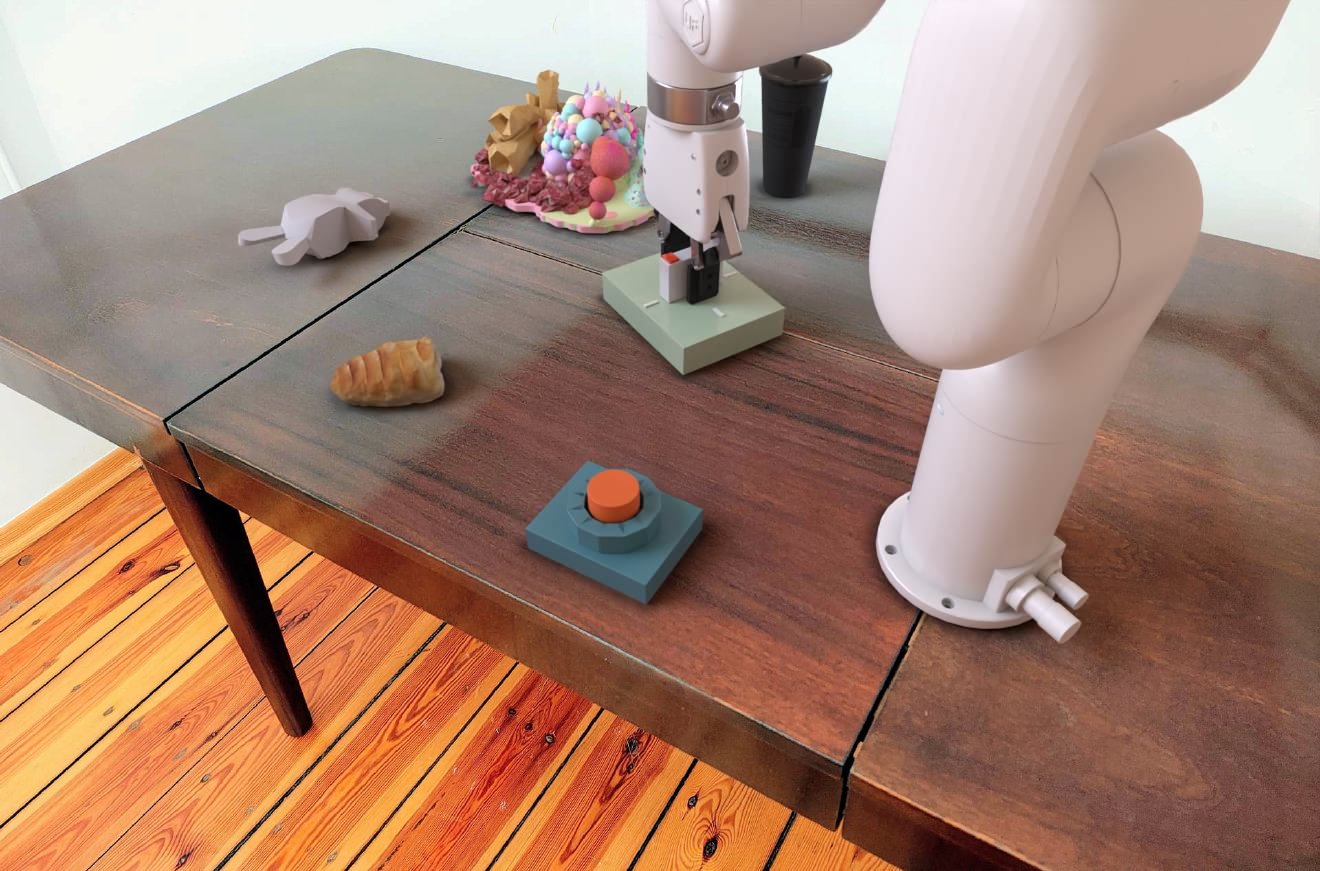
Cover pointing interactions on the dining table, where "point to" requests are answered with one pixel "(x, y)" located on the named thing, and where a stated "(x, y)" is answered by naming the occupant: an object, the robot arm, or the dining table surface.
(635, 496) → the button
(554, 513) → the button block
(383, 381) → the pastry
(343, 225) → the bunny figurine
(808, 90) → the drinking cup
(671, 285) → the white block with red
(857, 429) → the dining table surface
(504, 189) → the pastel sphere sculpture
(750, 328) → the panel
